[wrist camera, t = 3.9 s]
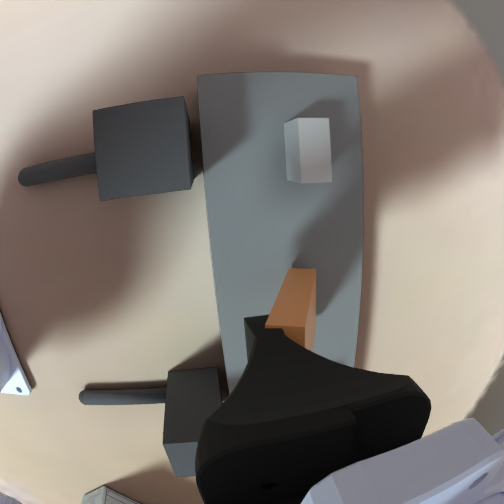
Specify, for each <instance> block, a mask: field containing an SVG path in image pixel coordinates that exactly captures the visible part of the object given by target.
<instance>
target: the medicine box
mask: <svg viewBox="0 0 504 504" xmlns="http://www.w3.org/2000/svg"><path fill="white" fill-rule="evenodd" d="M82 504H140V503H137V502H135V501H133V500H131V499H129V498H127V497H125V496H123V495H121V494H119V493H116V492H114V491H113V490H111V489H109V488H107V487H105V486H102V487H100V488H99V489H97V490H95V491H93V492H91V493H89V494H87V495H85V496H83V500H82Z"/></svg>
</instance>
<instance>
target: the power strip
mask: <svg viewBox="0 0 504 504" xmlns="http://www.w3.org/2000/svg"><path fill="white" fill-rule="evenodd" d="M197 84H198V105H199V121H200V135H201V149H202V162H203V174H204V186H205V197H206V208H207V218H208V229H209V238H210V248H211V258H212V267H213V276H214V284H215V293H216V301H217V310H218V318H219V326H220V333H221V341H222V348H223V356H224V363H225V370H226V377H227V384H228V391H229V394H230V393H231V392H232V391H233V389H234V388H235V386H236V384H237V383H238V381H239V379H240V377H241V376H242V374H243V372H244V370H245V367H246V365H247V363H248V360H247V350H246V339H245V328H244V318H246V317H253V316H261V315H268V314H270V312H271V310H272V307H273V305H274V303H275V300H276V298H277V296H278V293H279V291H280V288H281V286H282V284H283V281H284V279H285V276H286V274H287V272H288V269H289V268H302V269H316V329H315V336H314V342H313V349H312V352H314V353H316V354H318V355H320V356H322V357H325V358H327V359H329V360H332V361H335V362H338V363H341V364H344V365H347V366H350V367H354V363H355V354H356V345H357V335H358V324H359V312H360V298H361V282H362V261H363V217H364V201H363V158H362V137H361V121H360V108H359V96H358V86H357V77H356V76H346V75H334V74H319V73H298V72H241V73H220V74H205V75H197Z"/></svg>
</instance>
